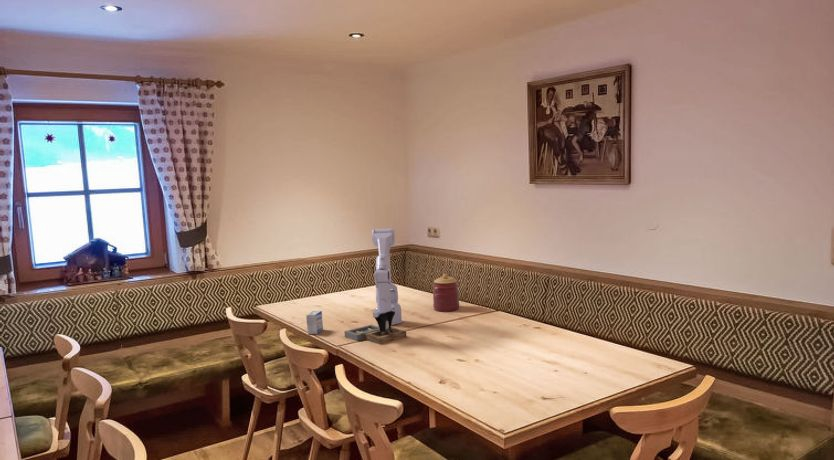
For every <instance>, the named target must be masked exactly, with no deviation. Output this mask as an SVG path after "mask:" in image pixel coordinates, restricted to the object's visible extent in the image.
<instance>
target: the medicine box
mask: <svg viewBox="0 0 834 460" xmlns="http://www.w3.org/2000/svg"><path fill="white" fill-rule="evenodd" d="M305 318H306V319H305V320H306V330H307V334H308V335H318V334H319V333H320V332H321V331H323V330H324V324H323V322H324V321H323V311H322V310H313V311H311V312H310V313H307V314H306V315H305Z"/></svg>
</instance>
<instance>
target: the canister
mask: <svg viewBox="0 0 834 460" xmlns="http://www.w3.org/2000/svg"><path fill="white" fill-rule="evenodd" d="M457 281H458V280H457V279H456V278H454V277H451V276H448V274H447V273H443V274H442V276H441V277H437V278H436V279H435V280H434V281H433V282H434V284H432V288H433V291H432V300H433V303H432V306H433V310H434V311H437V312H440V313H441V312H442V313H443V312H444V313H445V312H446V313H447V312H448V313H449V312H455V311H458V310H459V309H460V306H461V305H460V297H459V295H460V291H459V289H458V287H459V285H460V284H459V283H457Z"/></svg>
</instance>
